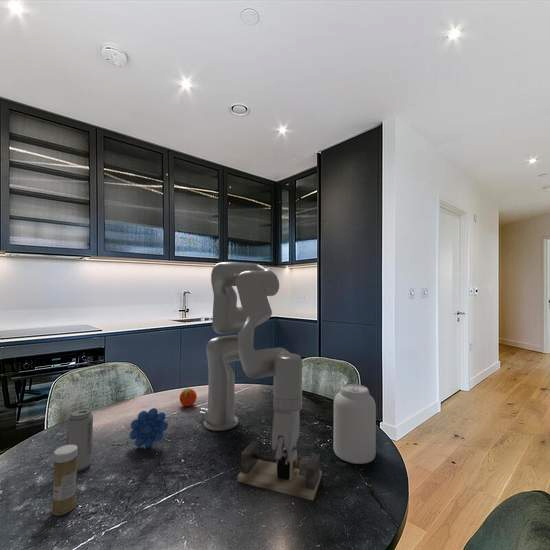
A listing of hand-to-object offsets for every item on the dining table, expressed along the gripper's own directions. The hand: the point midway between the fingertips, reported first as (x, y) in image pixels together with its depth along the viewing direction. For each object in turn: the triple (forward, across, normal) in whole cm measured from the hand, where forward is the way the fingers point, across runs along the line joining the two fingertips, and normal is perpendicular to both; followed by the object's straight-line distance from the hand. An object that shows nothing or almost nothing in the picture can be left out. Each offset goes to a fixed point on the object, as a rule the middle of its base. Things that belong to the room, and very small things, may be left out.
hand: (286, 471), depth 82 cm
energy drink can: (+3, +15, -56) cm, 58 cm away
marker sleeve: (0, 0, 0) cm, 0 cm away
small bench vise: (+2, 0, -2) cm, 3 cm away
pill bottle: (+3, +28, -44) cm, 52 cm away
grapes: (+3, -1, -46) cm, 46 cm away
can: (+3, -20, +15) cm, 25 cm away
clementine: (+3, -32, -54) cm, 63 cm away
